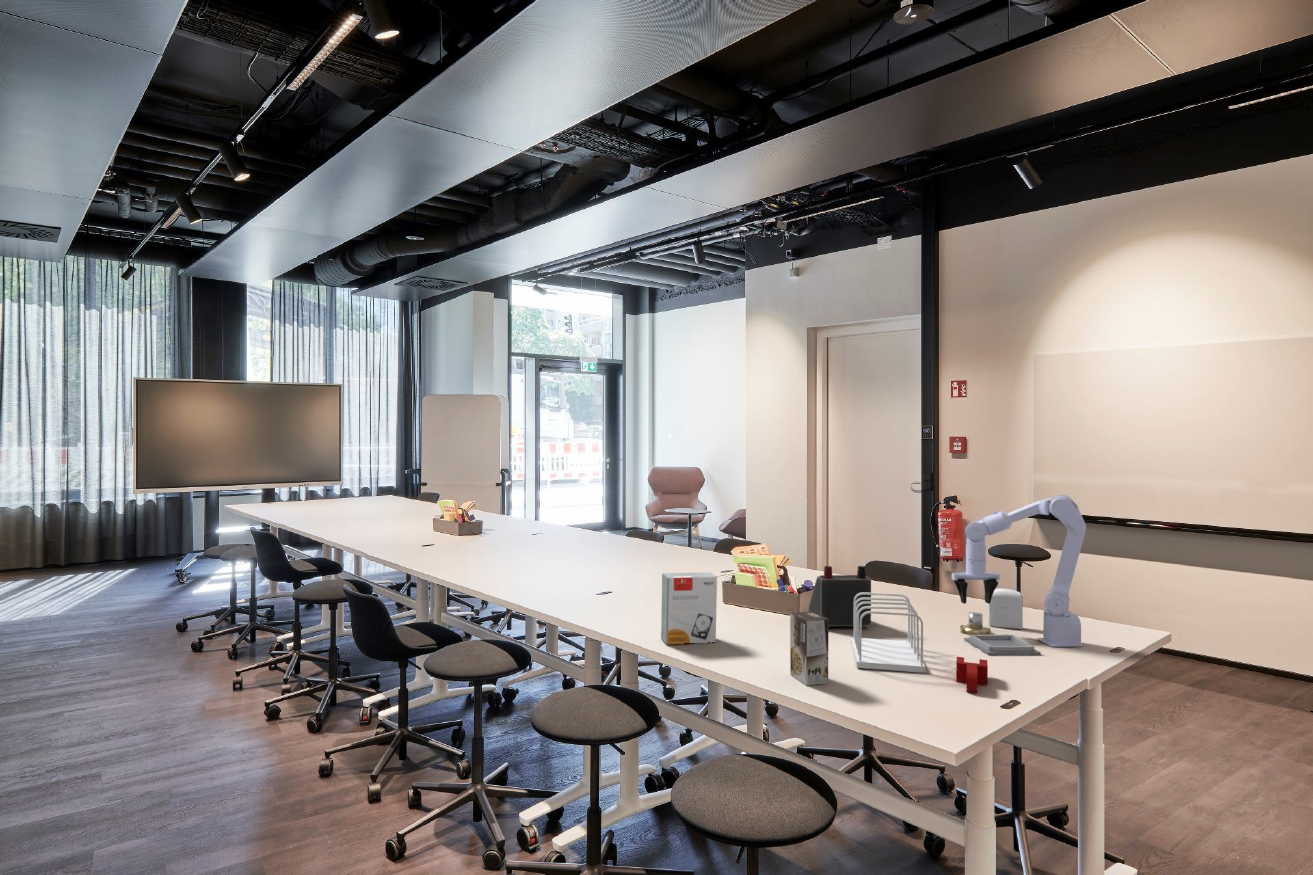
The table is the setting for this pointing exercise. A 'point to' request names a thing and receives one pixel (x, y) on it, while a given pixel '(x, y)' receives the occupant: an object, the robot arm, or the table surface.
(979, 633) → the planet gear
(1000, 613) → the photo printer
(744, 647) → the table surface
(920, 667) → the file sorter
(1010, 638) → the plate
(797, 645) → the coffee box
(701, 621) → the hard drive box
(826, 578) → the voltmeter
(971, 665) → the mechanical linkage
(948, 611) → the table surface
